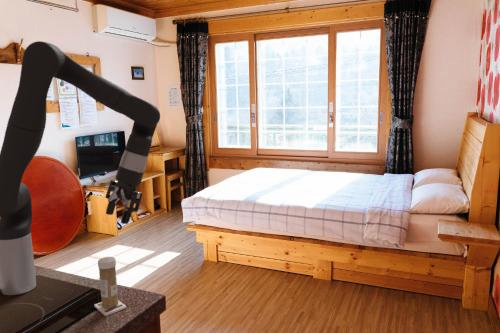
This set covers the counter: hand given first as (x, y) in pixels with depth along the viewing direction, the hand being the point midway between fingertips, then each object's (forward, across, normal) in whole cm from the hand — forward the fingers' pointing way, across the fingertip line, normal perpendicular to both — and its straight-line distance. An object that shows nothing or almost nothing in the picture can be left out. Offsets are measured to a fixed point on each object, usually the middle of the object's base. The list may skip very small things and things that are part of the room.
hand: (116, 218), depth 121 cm
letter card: (+22, +13, -3) cm, 25 cm away
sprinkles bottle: (+21, +13, -3) cm, 25 cm away
